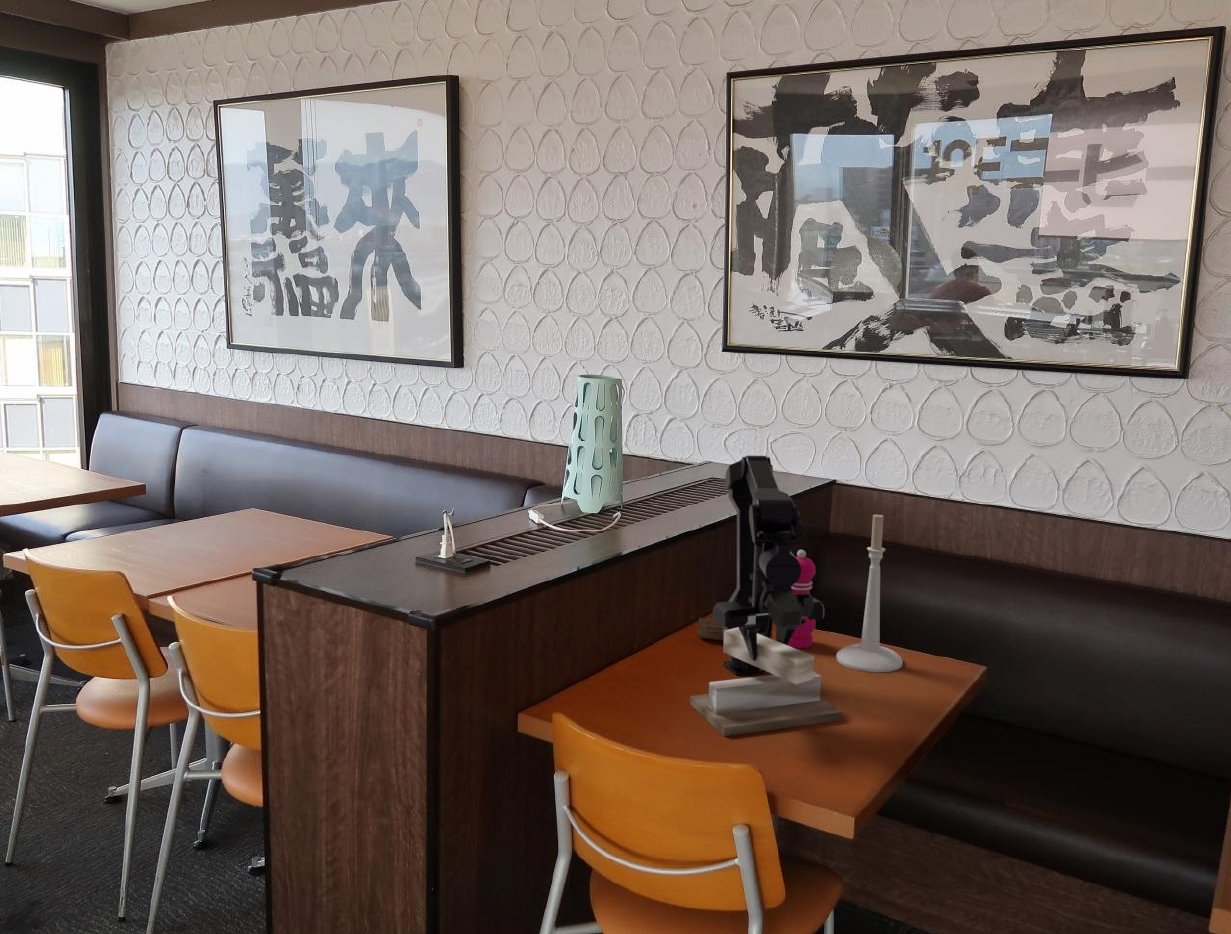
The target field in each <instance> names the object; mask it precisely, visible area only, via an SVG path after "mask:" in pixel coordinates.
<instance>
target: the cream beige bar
mask: <svg viewBox="0 0 1231 934" xmlns="http://www.w3.org/2000/svg"><path fill="white" fill-rule="evenodd" d="M723 653H724V654H727V655H728V656H730V655H731V656H733V657H735V658H738V659H740V660H742V661H745V662H747V663H749V664H751V665H754V666H756V667H758V668H760V669H763V670H765V671H766V672H767V673H770V674H771V675H776V676H778V677H781V678H783V679H785V680H787V681H790V682H792V683H794V684H799V683H803V682H806V681H810V680H813V676H814V672H815V656H814V655H811V654H810V653H807V652H804V651H802V650H799V649H798V648H792V647H790V646H787V645H785V644H782V643H780V642H777V641H776V639H773V638H772V639H770V638H768V637H765V636H763V635H760V634H758V633H757V656H756V661H753V660H752V659H751V657H750V654H749V652H748V649H747V646H746V644H745V641H744V638H743V636H742V634H741V632H740V630H739V628H738V627H737V628H733V629H729V630H725V631H724V640H723Z"/></svg>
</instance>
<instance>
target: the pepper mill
mask: <svg viewBox="0 0 1231 934" xmlns="http://www.w3.org/2000/svg"><path fill="white" fill-rule="evenodd" d="M796 555H797V556H795V557H796V558H797V560H798V561H799V563H800V566H801V575H800V577H799V579H798V581H797V582H796V583H795V584H794V585H792V592H793V594H799V595H800V594H805V593H810V592H811V589H813V581H812V579H813V578H814V577H815V575H816V572H817V571H816V565H815V563H814V562H813V561H812V560H811V559H810V558H808V557H806V555H807V553H806V551H805V550H803V549H799V550H797V553H796ZM810 594H811V593H810ZM802 619H803V620H805V621H806V624H804V625H801V626H799V627H798V628H797V629H795V631H794V633H793V634H792V636H791V638H790V640H789V643H788V645H787V646H790V647H792V648H795V649H807V648H810V647H812V646H813V638H814V637H813V635H812V633H813V632H814V631H815V629H816V623H817V622H816V620H817V619H814V620H809V619H808V618H807V617H806V616H803V617H802Z"/></svg>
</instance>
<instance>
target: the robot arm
mask: <svg viewBox="0 0 1231 934" xmlns="http://www.w3.org/2000/svg"><path fill="white" fill-rule="evenodd" d="M771 461H772V460H771V458H770V457H769V456H766V455H745V456H742V457H741V459H740V460H738V461H737V462H734V463H731V464H730V465H728V468H727V470H726V472H725V476H724V477H725V481H724V483H725V489H726V490H728V500H729V502H730V503H731V504H732V506H733V508H734V510H735V512H736V588H735V590H734V592H733V593H732V595H731V597H730V598H729V600H728V601H724V602H716V604H715V605H714V606H713V608H712V617H711V618H713V619H715V620H716V621H717V622H719V623H720V624H721V625H723V636H724V631H725V630H729V629H733V628H737V627H738V628H739V630H740V632H741V634H742V636H743V638H744V641H745V644H746V646H747V649H748V652H749V654H750V657H751V659H752V660H753V661H756V656H757V633H758V634H760V635H763V636H765V637H768V638H771V630H772V631H773V629H772V626H774V625H775V637H776V639H775V641H777V642H780V643H782V644H785V645H788V643H789V640H790V638H791V636H792V634H793V633H794V631H795V629H797V628H798V627H799V626H801V625H804V624H806V621H805V620H803V619H802V617H803V616H806V617H807V618H808V619H809V620H814V619H815V620H823V619H824V618H825V607H824V604H823V602H822V601H820V600H818V598H815V597H813V595H812V594H811V593H805V594H800V595H799V594H793V592H792V585H794V584H795V583H796V582H797V581H798V579H799V577H800V575H801V566H800V563H799V561H798V560H797V558H796V557H797V556H795V555H794V553H793V552H792V545H794V544H796V545H797V544H799V545H800V544H801V538H802V537H803V527H802V521H801V514H800V512H799V511H798V510H799V509H798V507H797V505H796V504H794V502H793V501H794V500H793V499H792V498H791V496H790V495H789V494H788V493H787V492H784V491H782V490H780V488H779V485H778V483H777V481H776V479H775V476H774V467H773V465H772V462H771ZM791 532H792V533H791ZM722 665H723V666H724V667H725V668H727V669H728V670H730V672H732V673H733V674H735V675H736V676H743V675H749V674H750V675H752V674H759V673H765V672H767V671H765V670H763V669H760V668H758V667H756V666H754V665H751V664H749V663H747V662H745V661H742V660H740V659H738V658H735V657H733V656H731V655H729V660H726V661H725V660H723V662H722Z"/></svg>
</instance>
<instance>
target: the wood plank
mask: <svg viewBox="0 0 1231 934" xmlns="http://www.w3.org/2000/svg"><path fill="white" fill-rule="evenodd" d="M773 626H774V625H773ZM773 626H772V630H771V638H770V639H773ZM697 627H698V629H697V638H704V639H711V640H715V641H724V636H723V625H721V624H720V623H719V622H717V621H716V620H715V619H713V618H712V617H698V626H697Z"/></svg>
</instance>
